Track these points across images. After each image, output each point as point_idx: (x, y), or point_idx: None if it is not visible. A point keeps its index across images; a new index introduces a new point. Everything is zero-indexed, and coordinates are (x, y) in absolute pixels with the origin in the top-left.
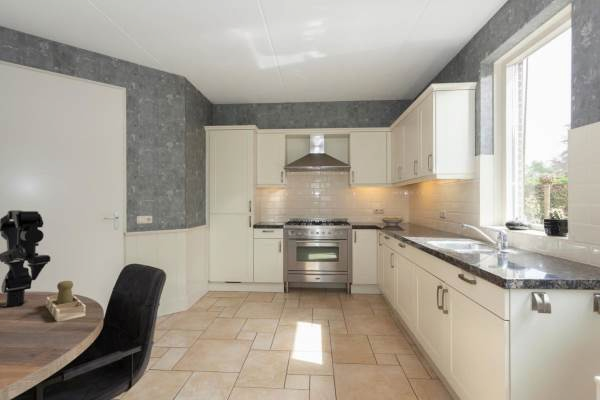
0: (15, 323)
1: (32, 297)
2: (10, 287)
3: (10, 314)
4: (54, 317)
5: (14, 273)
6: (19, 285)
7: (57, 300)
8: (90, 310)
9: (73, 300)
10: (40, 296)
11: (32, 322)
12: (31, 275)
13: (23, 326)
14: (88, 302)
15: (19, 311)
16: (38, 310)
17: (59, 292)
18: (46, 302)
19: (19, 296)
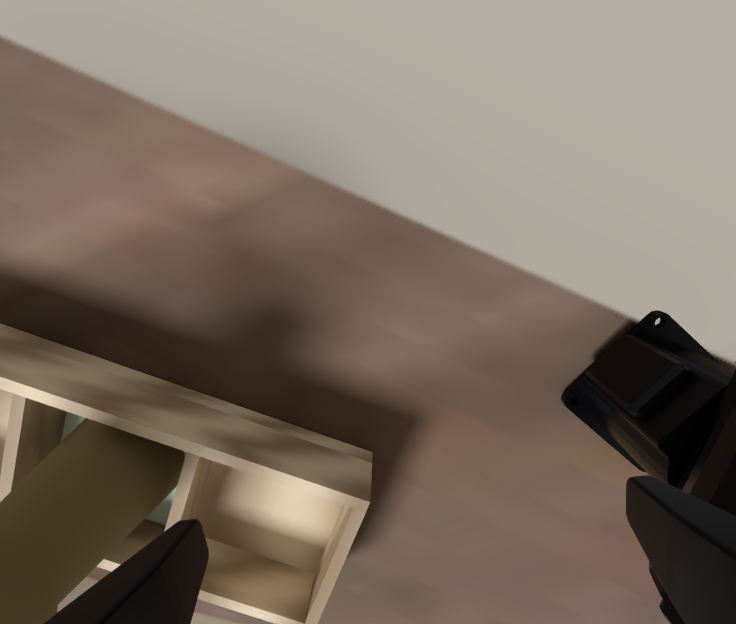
0: (138, 159)
1: None
2: (724, 409)
3: (405, 249)
4: (28, 335)
5: (733, 549)
6: (684, 490)
7: (80, 456)
8: None
9: None
10: None
11: (59, 223)
12: (130, 589)
13: (16, 151)
14: None
15: (422, 314)
16: (316, 381)
17: (6, 515)
18: (352, 466)
19: (633, 428)
